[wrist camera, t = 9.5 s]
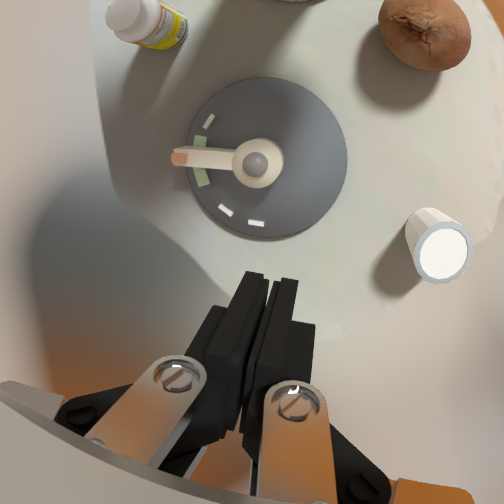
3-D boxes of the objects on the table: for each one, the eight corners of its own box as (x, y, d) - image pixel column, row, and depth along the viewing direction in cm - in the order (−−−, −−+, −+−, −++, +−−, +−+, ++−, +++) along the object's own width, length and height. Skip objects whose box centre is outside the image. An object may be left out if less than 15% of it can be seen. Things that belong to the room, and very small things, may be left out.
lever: (286, 140, 32) (282, 142, 29) (282, 184, 34) (277, 192, 31) (186, 132, 34) (170, 135, 30) (185, 173, 36) (169, 180, 32)
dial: (194, 76, 32) (189, 74, 31) (356, 90, 30) (357, 89, 28) (186, 221, 40) (182, 225, 39) (332, 245, 37) (332, 250, 36)
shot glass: (394, 253, 36) (406, 281, 30) (404, 198, 33) (421, 216, 27) (444, 260, 35) (463, 287, 29) (456, 207, 32) (480, 226, 26)
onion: (387, 59, 30) (364, 61, 24) (389, -12, 24) (367, -32, 18) (464, 80, 26) (468, 88, 19) (471, 5, 20) (475, -12, 13)
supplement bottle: (143, 26, 31) (93, 9, 22) (180, 3, 29) (137, -23, 20) (156, 60, 32) (107, 48, 23) (196, 38, 31) (154, 17, 21)
